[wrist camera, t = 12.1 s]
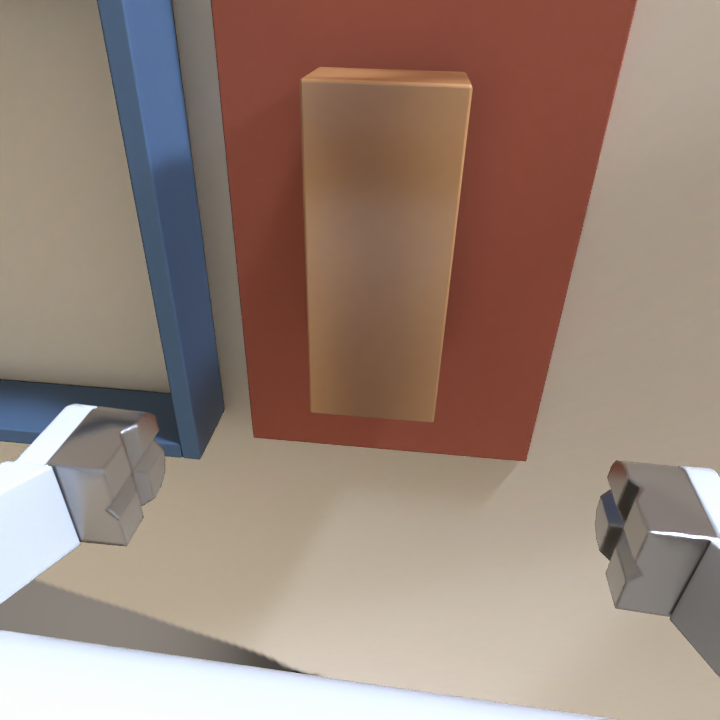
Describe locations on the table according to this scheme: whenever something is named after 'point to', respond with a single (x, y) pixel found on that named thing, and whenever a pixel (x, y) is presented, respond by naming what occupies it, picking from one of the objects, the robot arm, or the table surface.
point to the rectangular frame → (149, 244)
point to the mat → (476, 206)
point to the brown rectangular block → (380, 234)
